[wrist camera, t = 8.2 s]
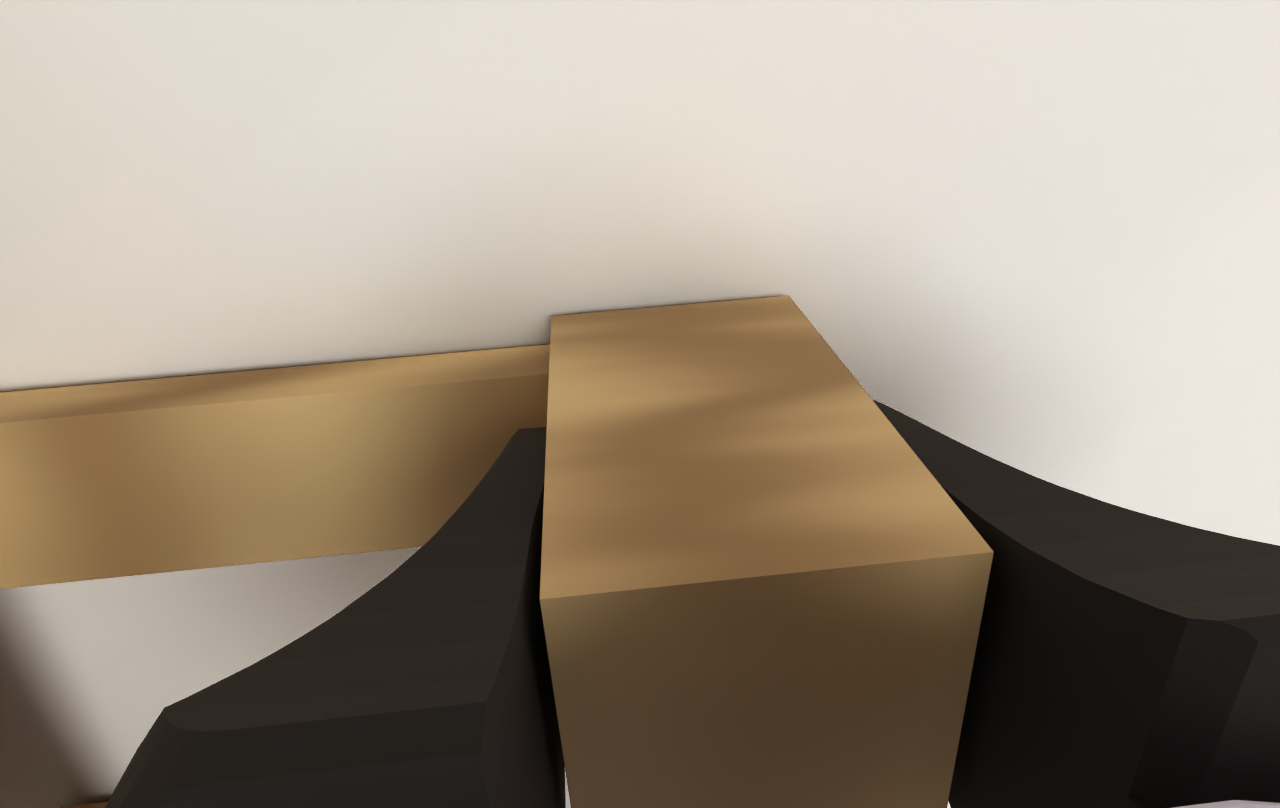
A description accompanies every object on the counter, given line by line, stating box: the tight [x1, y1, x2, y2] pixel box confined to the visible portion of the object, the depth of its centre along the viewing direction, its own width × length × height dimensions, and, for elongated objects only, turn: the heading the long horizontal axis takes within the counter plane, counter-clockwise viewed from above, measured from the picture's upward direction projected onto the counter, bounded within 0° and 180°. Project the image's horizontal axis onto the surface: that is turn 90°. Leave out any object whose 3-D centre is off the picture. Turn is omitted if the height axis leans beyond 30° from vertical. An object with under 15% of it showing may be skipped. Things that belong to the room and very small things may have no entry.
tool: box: [0, 296, 994, 808], centre depth 10 cm, size 17×4×7 cm, turn 93°
